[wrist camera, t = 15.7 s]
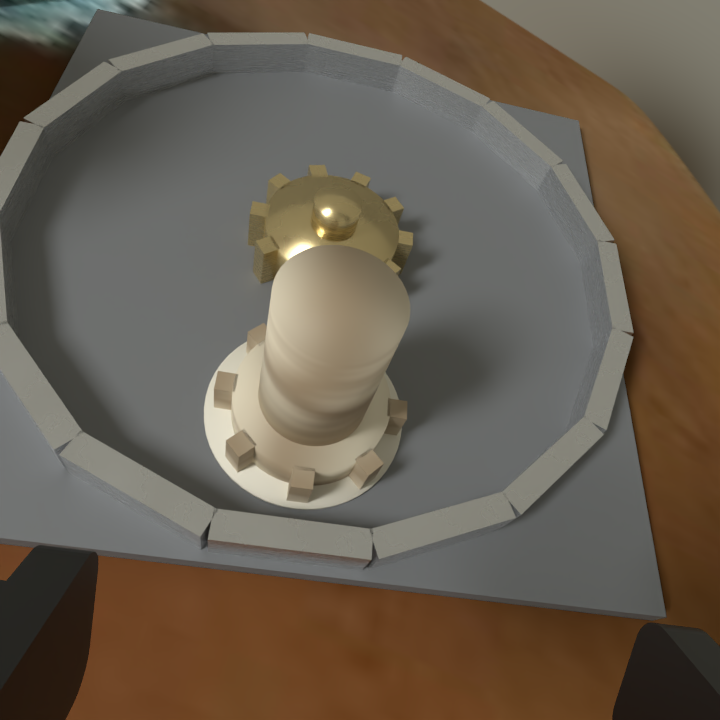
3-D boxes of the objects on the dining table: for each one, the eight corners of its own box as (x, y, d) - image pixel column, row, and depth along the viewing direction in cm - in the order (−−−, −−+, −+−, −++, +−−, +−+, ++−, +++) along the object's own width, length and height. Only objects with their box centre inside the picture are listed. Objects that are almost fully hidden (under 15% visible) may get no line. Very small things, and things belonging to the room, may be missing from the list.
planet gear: (400, 350, 31) (459, 231, 24) (393, 514, 27) (463, 431, 19) (232, 322, 30) (238, 186, 23) (196, 488, 26) (188, 388, 18)
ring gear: (574, 123, 45) (588, 99, 43) (656, 606, 27) (685, 598, 26) (102, 13, 40) (97, -18, 39) (-157, 508, 23) (-186, 490, 21)
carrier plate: (571, 131, 46) (579, 118, 45) (653, 620, 28) (669, 616, 27) (99, 23, 41) (97, 5, 40) (-161, 524, 24) (-177, 515, 23)
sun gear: (403, 213, 37) (422, 161, 33) (398, 329, 32) (419, 283, 29) (261, 184, 35) (265, 127, 32) (235, 300, 31) (237, 248, 28)
